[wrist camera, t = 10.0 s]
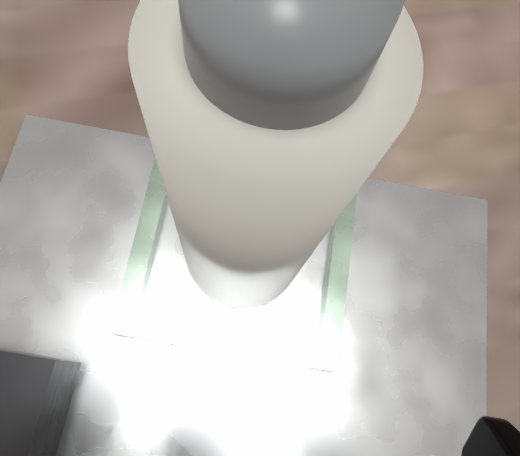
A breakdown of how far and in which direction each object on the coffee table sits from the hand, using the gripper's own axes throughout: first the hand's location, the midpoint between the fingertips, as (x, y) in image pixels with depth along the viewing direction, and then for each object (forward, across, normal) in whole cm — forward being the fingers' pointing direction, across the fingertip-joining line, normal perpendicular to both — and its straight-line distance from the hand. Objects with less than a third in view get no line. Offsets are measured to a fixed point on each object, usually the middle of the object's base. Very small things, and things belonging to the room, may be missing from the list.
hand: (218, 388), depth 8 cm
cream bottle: (+12, 0, +4) cm, 12 cm away
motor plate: (+11, 0, +8) cm, 14 cm away
